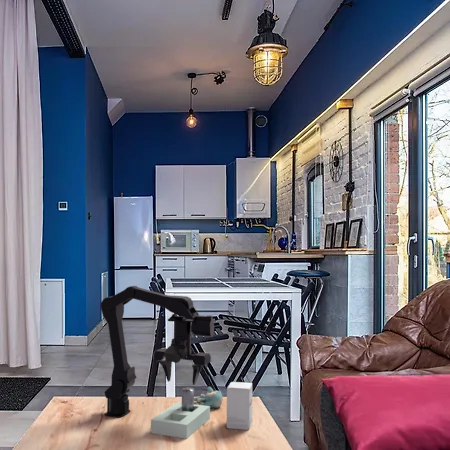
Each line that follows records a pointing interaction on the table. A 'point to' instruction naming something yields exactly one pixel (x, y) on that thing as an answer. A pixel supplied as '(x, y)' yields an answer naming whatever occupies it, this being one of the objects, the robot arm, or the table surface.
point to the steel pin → (187, 399)
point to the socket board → (180, 421)
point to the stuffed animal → (210, 398)
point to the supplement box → (239, 405)
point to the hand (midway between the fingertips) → (181, 382)
